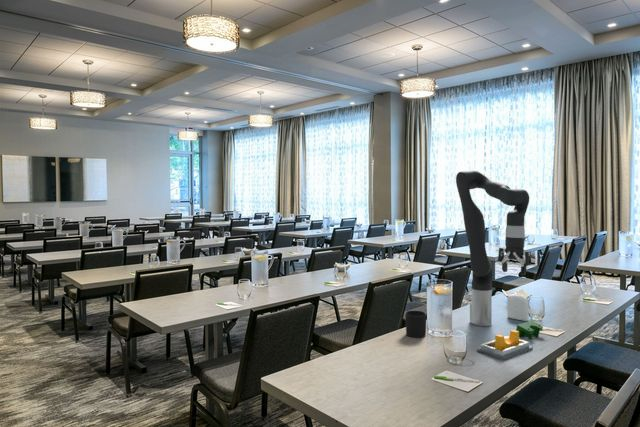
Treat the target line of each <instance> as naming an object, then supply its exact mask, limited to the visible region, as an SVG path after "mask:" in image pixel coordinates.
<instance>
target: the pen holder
mask: <svg viewBox="0 0 640 427" xmlns="http://www.w3.org/2000/svg"><path fill="white" fill-rule="evenodd" d="M404 316H405V334H406V336H407V337H410V338H417V339H419V338H424V337H425V336H426V334H427V333H426V332H427V314H426V313H425V312H424V311H422V310H421V311H420V310H409V311H406V312H405V314H404Z"/></svg>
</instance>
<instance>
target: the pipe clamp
mask: <svg viewBox="0 0 640 427" xmlns="http://www.w3.org/2000/svg"><path fill="white" fill-rule="evenodd" d="M508 336H509V337H506V336H504V335H503V334H496V335H495V334H494V340H495V348H496V349H500V350H504V349H507V348H510V347H513V346H516V345H518V344H519V339H520V338H519V331H516V329H511V330H510V333H509V335H508ZM504 337H506V338H504Z"/></svg>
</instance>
